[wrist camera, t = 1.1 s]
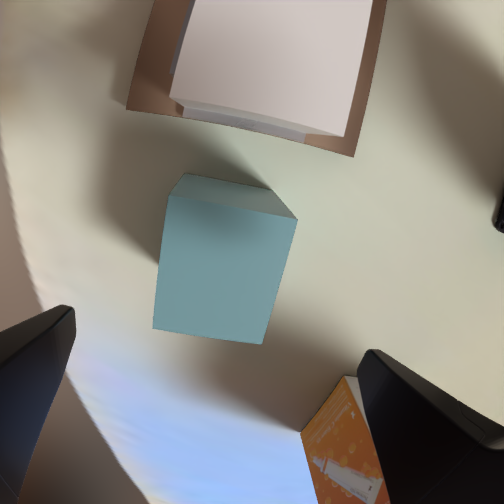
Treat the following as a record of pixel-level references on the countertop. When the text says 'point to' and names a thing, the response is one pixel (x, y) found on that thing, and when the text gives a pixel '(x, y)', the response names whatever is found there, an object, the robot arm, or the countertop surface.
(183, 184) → the block
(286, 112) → the mounted modules
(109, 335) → the countertop surface
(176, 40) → the rail board
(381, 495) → the small box
